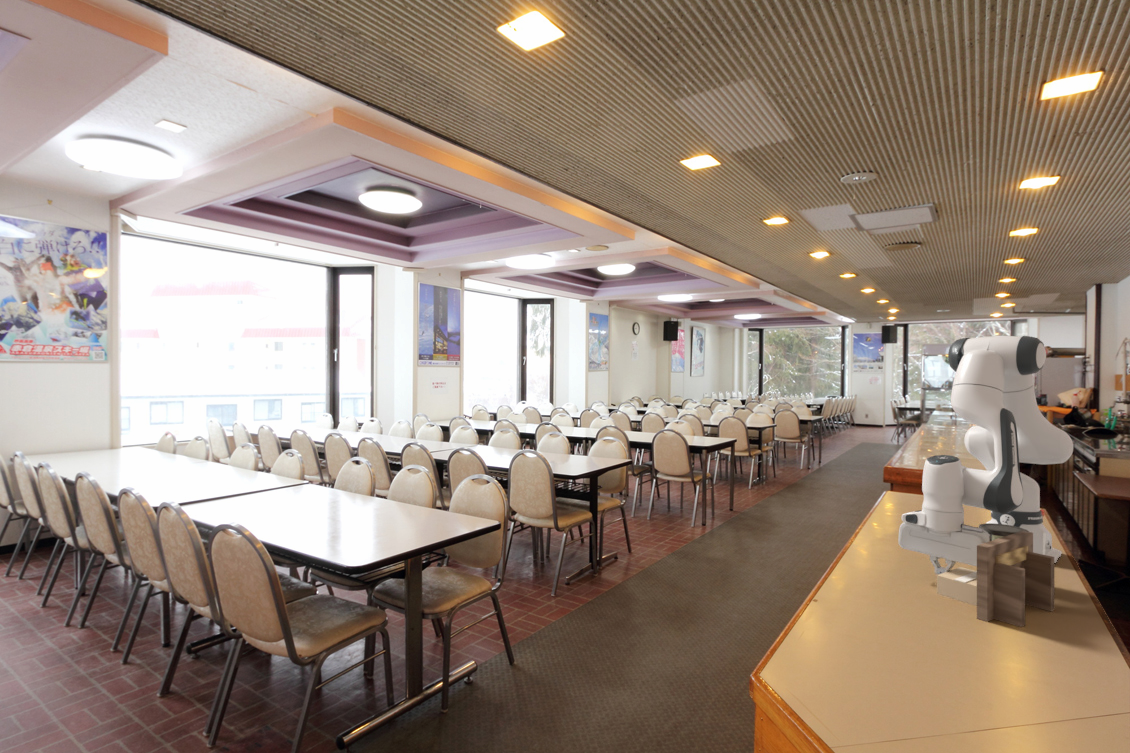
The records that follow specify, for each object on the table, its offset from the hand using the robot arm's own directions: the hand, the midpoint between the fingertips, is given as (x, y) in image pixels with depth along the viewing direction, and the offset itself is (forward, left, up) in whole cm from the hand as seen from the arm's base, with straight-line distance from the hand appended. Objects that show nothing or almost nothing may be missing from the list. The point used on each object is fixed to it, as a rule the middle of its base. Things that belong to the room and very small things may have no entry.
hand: (942, 575), depth 144 cm
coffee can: (-18, +6, -3) cm, 19 cm away
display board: (+2, +17, -3) cm, 17 cm away
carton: (0, +6, -4) cm, 7 cm away
